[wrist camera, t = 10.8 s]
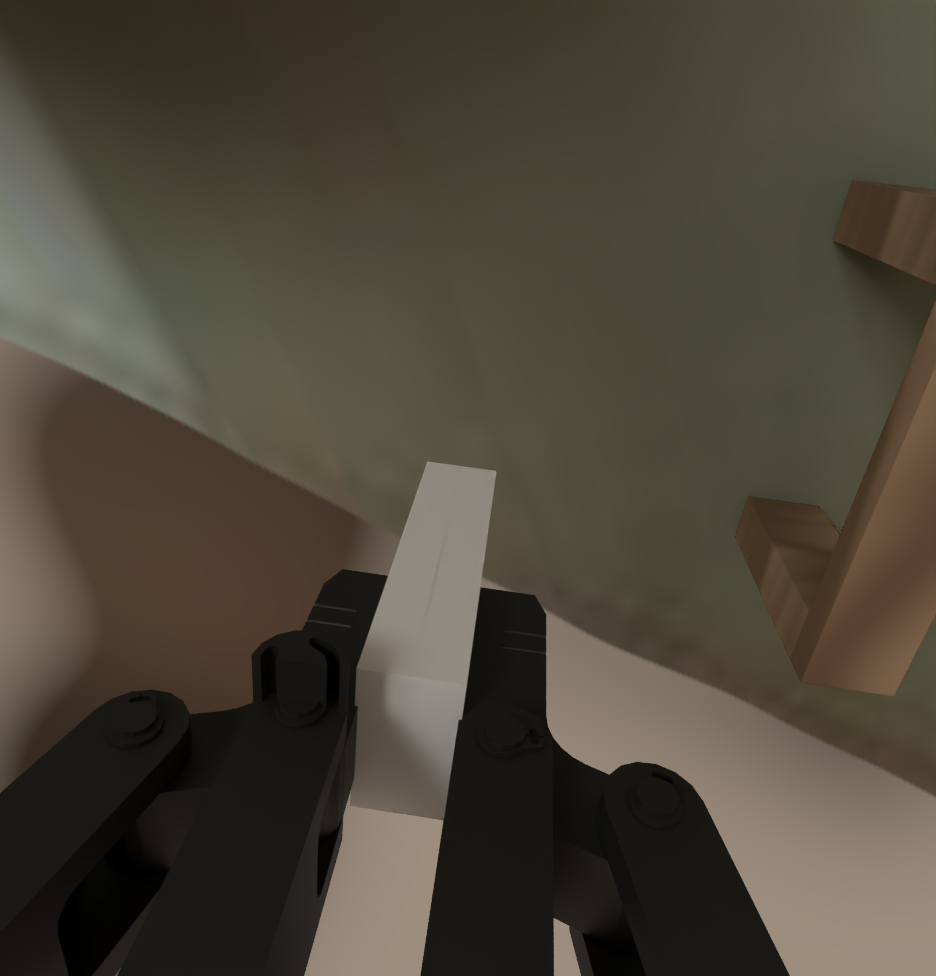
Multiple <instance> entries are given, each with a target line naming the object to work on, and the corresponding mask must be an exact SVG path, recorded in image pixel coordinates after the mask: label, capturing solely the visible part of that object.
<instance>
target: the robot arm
mask: <svg viewBox="0 0 936 976" xmlns="http://www.w3.org/2000/svg"><path fill="white" fill-rule="evenodd" d="M495 478H496V471H492V470H485V469H478V468H471V467H464V466H457V465H449V464H442V463H435V462H428V461H427V464H426V467H425V470H424V473H423V476H422V479H421V482H420V484H419V487H418V490H417V493H416V496H415V499H414V502H413V505H412V508H411V511H410V514H409V517H408V520H407V522H406V525H405V528H404V531H403V534H402V537H401V540H400V543H399V546H398V549H397V552H396V555H395V558H394V560H393V564H392V566H391V569H390V572H389V575H388V576H385V575H378V574H371V573H364V572H358V571H351V570H344V569H343V570H341V571H340V572H339V573H337V574H336V575H335V576H334V577H332V578H331V579H330V580H328V581H327V582H326V583H325V584H324V585H323V587H322V589H321V591H320V593H319V596H318V598H317V600H316V602H315V606H313V608H312V610H311V612H310V615H309V617H308V620H307V622H306V623H305V625H304V627H303V629H302V631H297V630H296V631H291V632H287V633H283V634H279V635H276V636H274V637H272V638H270V639H268V640H267V641H265V642H263V643H261V645H260V646H259V647H258V648H257V649H256V650H255V652H254V653H253V654H252V678H253V703H251V704H248V705H245V706H242V707H239V708H236V709H231V710H225V711H219V712H209V713H199V714H190V713H189V712H188V710H187V707H186V706H185V704H184V702H183V701H182V700H181V699H179V698H177V697H176V696H174V695H173V694H171V693H168V692H162V691H157V690H145V691H134V692H130V693H127V694H124V695H121V696H118V697H115V698H112V699H111V700H109V701H108V702H106V703H105V704H103V705H102V706H100V707H99V708H97V709H95V710H94V711H93V712H92V713H91V714H90V715H89V716H87V717H86V718H85V719H84V720H83V721H82V722H81V723H79V724H78V725H77V726H76V727H75V728H74V729H73V730H71V731H70V732H69V733H68V734H67V735H66V736H65V737H63V738H62V739H61V740H60V741H59V742H58V743H57V744H56V745H55V746H53V747H52V748H51V749H50V750H49V751H48V752H46V753H45V754H44V755H43V756H42V757H41V758H40V759H39V760H37V761H36V762H35V763H34V764H33V765H32V766H31V767H29V768H28V769H27V770H26V771H25V772H24V773H23V774H21V775H20V776H19V777H18V778H17V779H16V780H15V781H14V782H12V783H11V784H10V785H9V786H8V787H7V788H5V789H4V790H3V791H2V792H1V793H0V976H115V975H116V973H117V972H118V971H119V969H120V968H121V969H120V971H119V973H118V975H117V976H304V974H305V971H306V967H307V963H308V960H309V956H310V953H311V949H312V945H313V942H314V938H315V934H316V931H317V928H318V924H319V920H320V916H321V913H322V910H323V906H324V902H325V898H326V895H327V892H328V888H329V884H330V881H331V877H332V873H333V870H334V866H335V863H336V859H337V855H338V852H339V848H340V845H341V841H342V830H343V815H344V811H345V808H346V804H347V801H348V797H349V794H350V790H351V798H350V806H356V807H363V808H369V809H375V810H382V811H388V812H394V813H401V814H407V815H413V816H420V817H427V818H433V819H439V820H444V821H443V829H442V835H441V841H440V848H439V855H438V862H437V868H436V875H435V882H434V890H433V895H432V902H431V910H430V916H429V922H428V929H427V936H426V943H425V950H424V956H423V963H422V970H421V976H554V942H553V941H554V938H553V937H554V936H553V935H554V933H553V918H555V919H557V920H560V921H561V922H563V923H565V924H567V925H569V929H570V934H571V938H572V942H573V946H574V949H575V953H576V957H577V961H578V965H579V969H580V973H581V976H790V975H789V973H788V971H787V969H786V967H785V965H784V963H783V961H782V959H781V957H780V956H779V953H778V951H777V949H776V947H775V945H774V943H773V941H772V939H771V937H770V935H769V933H768V931H767V929H766V927H765V925H764V923H763V921H762V919H761V917H760V915H759V913H758V911H757V909H756V907H755V905H754V903H753V901H752V899H751V897H750V895H749V893H748V891H747V889H746V887H745V885H744V883H743V881H742V879H741V876H740V874H739V873H738V870H737V868H736V866H735V864H734V862H733V860H732V859H731V856H730V854H729V852H728V851H727V848H726V846H725V844H724V842H723V840H722V838H721V836H720V834H719V832H718V830H717V828H716V826H715V824H714V822H713V820H712V818H711V816H710V814H709V812H708V810H707V808H706V806H705V804H704V802H703V800H702V799H701V797H700V796H699V795H698V793H697V792H696V790H695V789H694V788H693V786H692V785H691V784H690V783H688V782H687V781H686V780H684V779H683V778H682V777H681V776H679V775H678V774H677V773H675V772H673V771H671V770H669V769H666V768H664V767H662V766H659V765H657V764H650V763H641V762H635V763H631V764H626V765H622V766H620V767H619V768H617V769H616V770H615V771H614V772H612V773H611V774H610V775H609V774H606V773H604V772H602V771H600V770H597V769H595V768H592V767H590V766H588V765H586V764H584V763H582V762H580V761H579V760H577V759H575V758H573V757H572V756H571V755H569V754H568V753H567V752H566V751H564V750H563V749H562V748H561V747H560V746H559V744H558V743H557V742H556V741H555V739H554V738H553V737H552V735H551V732H550V730H549V728H548V724H547V719H546V613H545V612H544V610H543V608H542V607H541V605H540V603H539V602H538V600H537V598H536V597H535V595H529V594H522V593H516V592H509V591H502V590H495V589H488V588H481V587H480V586H481V579H482V572H483V565H484V558H485V550H486V543H487V536H488V529H489V522H490V514H491V507H492V500H493V493H494V486H495Z"/></svg>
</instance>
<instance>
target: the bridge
mask: <svg viewBox="0 0 936 976" xmlns="http://www.w3.org/2000/svg"><path fill="white" fill-rule="evenodd" d="M833 241H836V242H838V243H840V244H842V245H845V246H847V247H849V248H852V249H854V250H856V251H858V252H861V253H863V254H865V255H868V256H870V257H872V258H874V259H877V260H879V261H881V262H884V263H886V264H888V265H890V266H893V267H895V268H897V269H900V270H902V271H904V272H906V273H909V274H911V275H913V276H916V277H918V278H920V279H923V280H925V281H927V282H929V283H932V284H934V285H936V190H929V189H921V188H913V187H905V186H897V185H889V184H881V183H872V182H864V181H856V180H852V183H851V186H850V190H849V193H848V196H847V199H846V202H845V205H844V208H843V211H842V214H841V217H840V220H839V223H838V226H837V229H836V232H835V235H834V238H833ZM735 537H736V539H737V542H738V544H739V546H740V548H741V550H742V553H743V555H744V557H745V559H746V562H747V564H748V566H749V568H750V571H751V573H752V575H753V577H754V579H755V582H756V584H757V586H758V588H759V591H760V593H761V595H762V597H763V600H764V602H765V604H766V606H767V608H768V611H769V613H770V615H771V617H772V620H773V622H774V624H775V626H776V628H777V631H778V633H779V635H780V637H781V640H782V642H783V644H784V646H785V649H786V651H787V653H788V655H789V657H790V660H791V662H792V664H793V666H794V669H795V671H796V673H797V675H798V677H799V680H800V682H801V683H807V684H814V685H821V686H828V687H834V688H841V689H848V690H855V691H862V692H868V693H875V694H882V695H889V696H894V695H895V693H896V691H897V689H898V687H899V685H900V683H901V681H902V680H903V678H904V676H905V674H906V672H907V670H908V668H909V666H910V664H911V662H912V660H913V658H914V656H915V654H916V652H917V650H918V648H919V646H920V644H921V642H922V640H923V638H924V636H925V635H926V633H927V631H928V629H929V627H930V625H931V623H932V621H933V619H934V617H935V615H936V301H935V303H934V306H933V308H932V311H931V313H930V316H929V318H928V320H927V323H926V325H925V328H924V330H923V333H922V335H921V338H920V340H919V343H918V345H917V347H916V350H915V352H914V355H913V357H912V360H911V362H910V365H909V367H908V369H907V372H906V374H905V377H904V379H903V382H902V384H901V387H900V389H899V392H898V394H897V396H896V399H895V401H894V404H893V406H892V409H891V411H890V414H889V416H888V418H887V421H886V423H885V426H884V428H883V431H882V433H881V436H880V438H879V441H878V443H877V445H876V448H875V450H874V453H873V455H872V458H871V460H870V463H869V465H868V467H867V470H866V472H865V475H864V477H863V480H862V482H861V485H860V487H859V490H858V492H857V494H856V497H855V499H854V502H853V504H852V507H851V509H850V512H849V514H848V517H847V519H846V521H845V524H844V526H843V529H842V531H841V534H840V535H839V534H838V532H837V531H836V530H835V528H834V527H833V525H832V524H831V522H830V521H829V520H828V518H827V517H826V515H825V514H824V512H823V511H822V510H821V508H820V507H819V506H811V505H804V504H797V503H790V502H783V501H775V500H768V499H761V498H754V497H748V499H747V502H746V506H745V509H744V512H743V515H742V518H741V521H740V524H739V527H738V530H737V533H736V536H735Z"/></svg>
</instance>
